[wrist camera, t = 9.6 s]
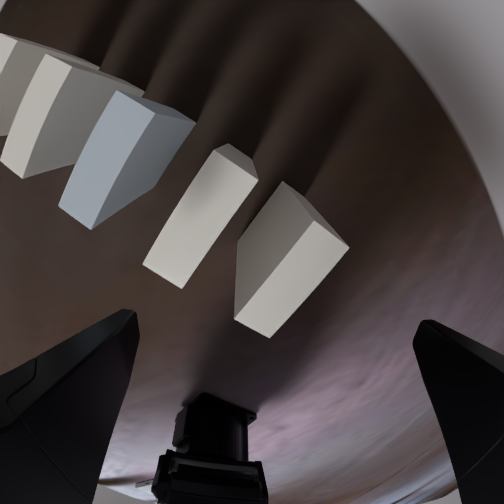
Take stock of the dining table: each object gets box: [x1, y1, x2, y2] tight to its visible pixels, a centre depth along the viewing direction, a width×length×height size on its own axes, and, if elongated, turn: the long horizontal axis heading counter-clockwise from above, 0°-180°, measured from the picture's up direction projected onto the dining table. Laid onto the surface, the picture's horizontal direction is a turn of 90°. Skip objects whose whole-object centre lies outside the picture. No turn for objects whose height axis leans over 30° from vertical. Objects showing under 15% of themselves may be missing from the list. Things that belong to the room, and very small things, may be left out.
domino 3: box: [58, 90, 196, 230], centre depth 13 cm, size 2×5×9 cm, turn 143°
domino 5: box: [234, 181, 349, 338], centre depth 15 cm, size 2×5×9 cm, turn 144°
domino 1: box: [0, 34, 100, 136], centre depth 11 cm, size 2×5×9 cm, turn 145°
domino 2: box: [0, 54, 144, 179], centre depth 12 cm, size 2×5×9 cm, turn 144°
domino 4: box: [143, 143, 258, 289], centre depth 14 cm, size 2×5×9 cm, turn 145°
